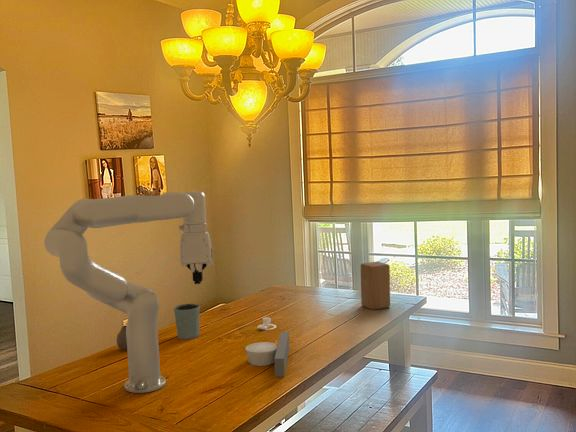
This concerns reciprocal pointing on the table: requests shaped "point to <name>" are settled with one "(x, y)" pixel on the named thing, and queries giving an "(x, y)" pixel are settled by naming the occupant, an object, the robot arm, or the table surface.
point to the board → (282, 354)
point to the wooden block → (375, 285)
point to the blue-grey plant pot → (187, 320)
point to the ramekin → (261, 353)
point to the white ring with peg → (266, 324)
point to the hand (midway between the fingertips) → (197, 283)
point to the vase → (122, 339)
